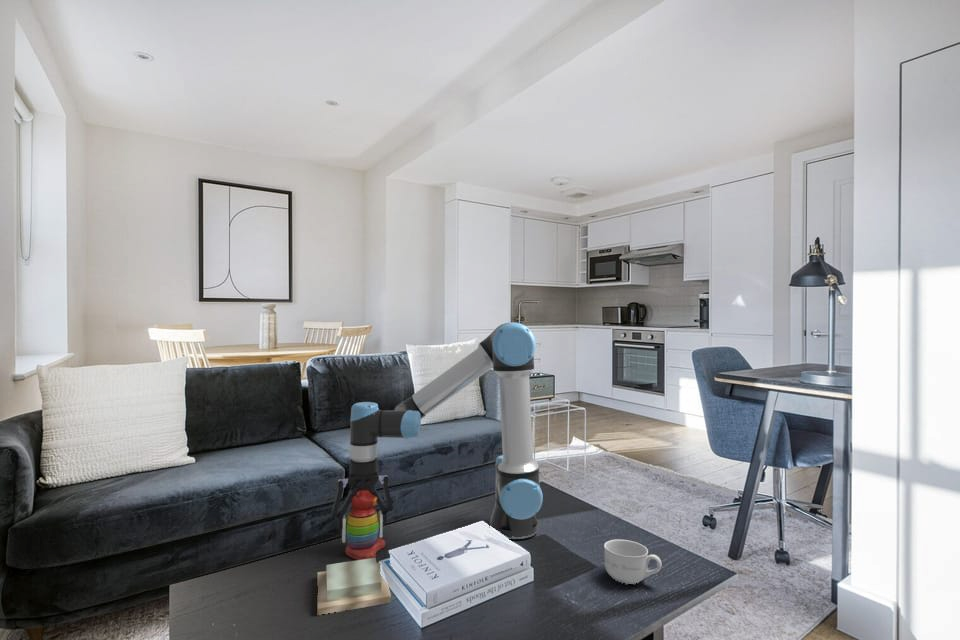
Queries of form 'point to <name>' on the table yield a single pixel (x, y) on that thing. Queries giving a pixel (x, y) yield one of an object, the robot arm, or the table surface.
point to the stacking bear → (363, 527)
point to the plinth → (351, 601)
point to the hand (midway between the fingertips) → (362, 537)
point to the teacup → (628, 561)
